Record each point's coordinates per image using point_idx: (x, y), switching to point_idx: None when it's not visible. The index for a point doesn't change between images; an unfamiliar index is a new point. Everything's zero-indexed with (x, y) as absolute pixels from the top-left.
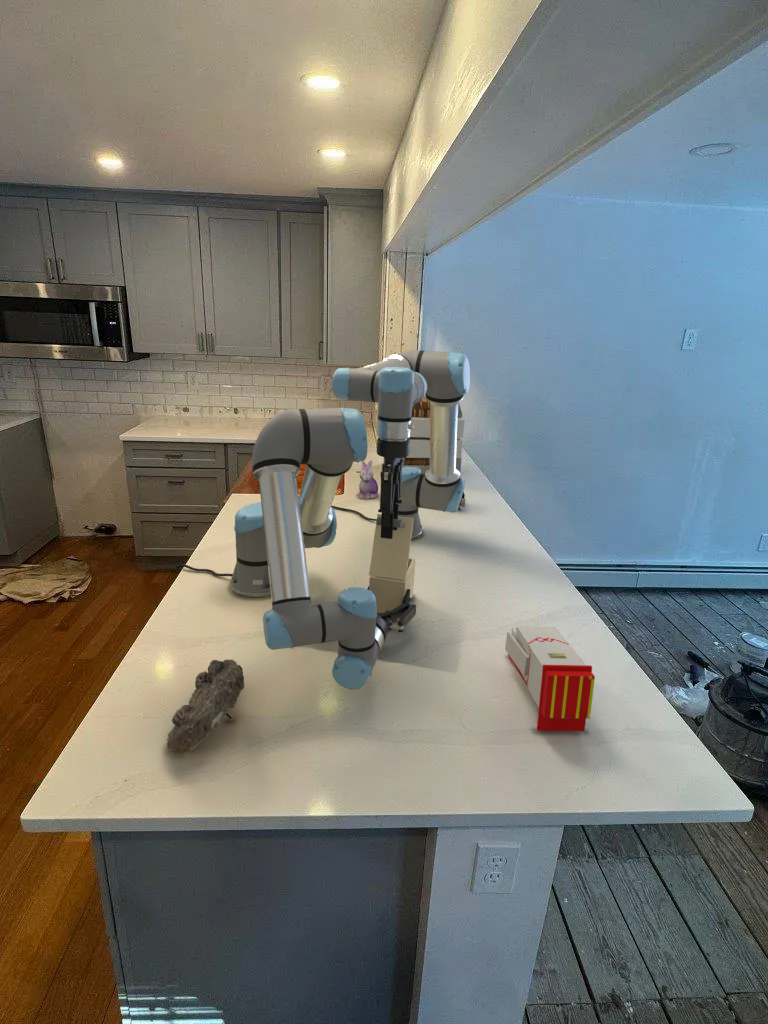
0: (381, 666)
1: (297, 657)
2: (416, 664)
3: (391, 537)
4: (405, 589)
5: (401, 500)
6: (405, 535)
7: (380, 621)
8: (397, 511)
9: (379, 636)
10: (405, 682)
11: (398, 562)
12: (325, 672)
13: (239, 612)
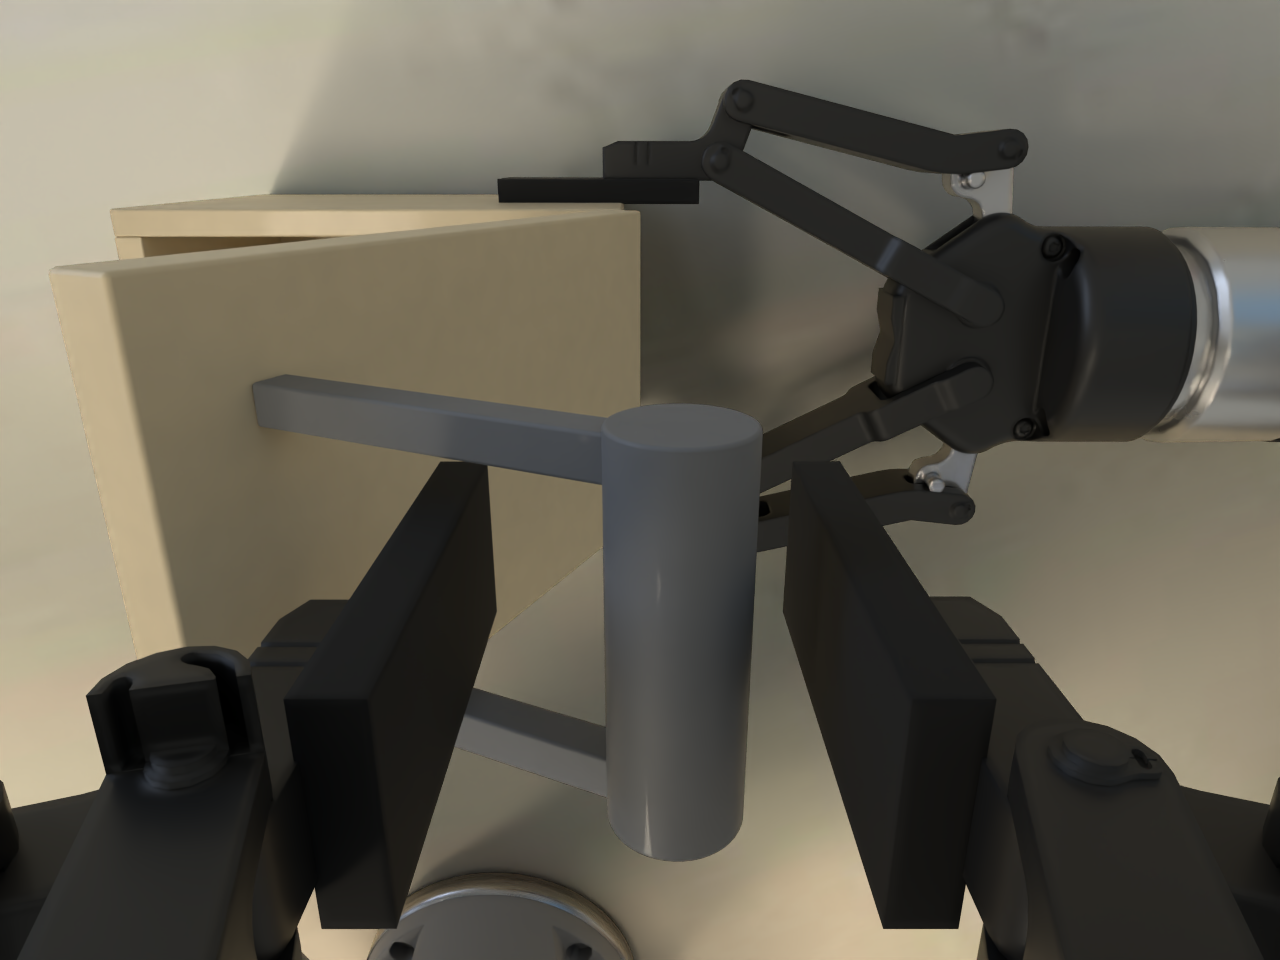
0: (1114, 218)
1: (1083, 627)
2: (1072, 15)
3: (841, 475)
4: (590, 205)
5: (109, 702)
6: (369, 323)
7: (1142, 283)
8: (413, 617)
9: (1272, 251)
10: (1252, 48)
11: (568, 313)
12: (1191, 475)
13: (764, 954)
